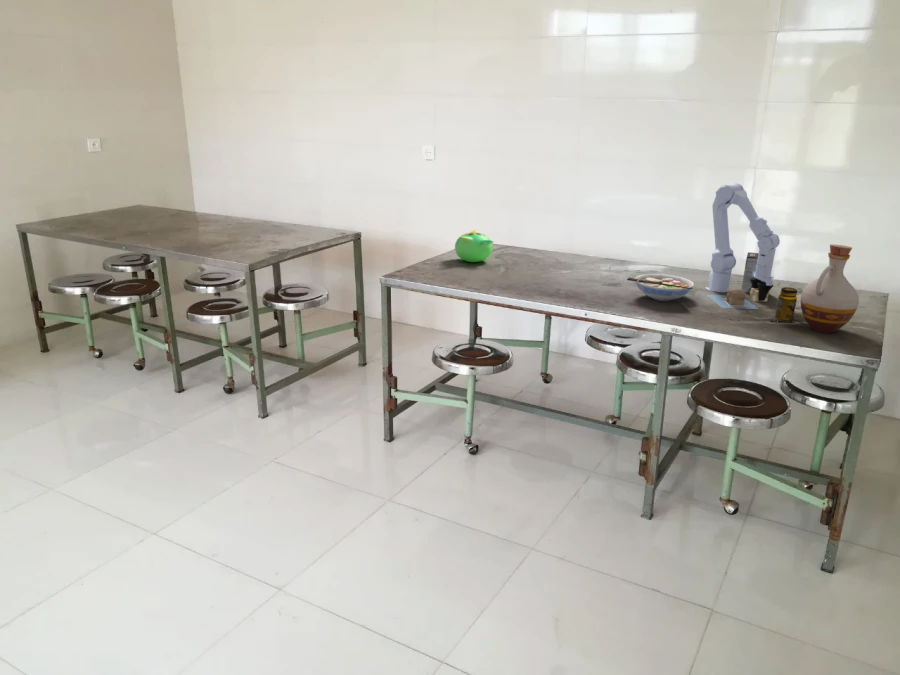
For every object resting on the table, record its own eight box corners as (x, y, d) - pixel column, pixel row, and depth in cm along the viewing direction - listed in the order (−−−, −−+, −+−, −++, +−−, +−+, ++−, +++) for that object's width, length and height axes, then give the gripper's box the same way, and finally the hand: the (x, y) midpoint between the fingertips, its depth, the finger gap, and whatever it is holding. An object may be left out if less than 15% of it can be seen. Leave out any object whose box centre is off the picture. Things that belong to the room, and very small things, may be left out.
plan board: (705, 297, 274) (706, 294, 274) (740, 298, 274) (740, 295, 274) (721, 310, 257) (722, 307, 257) (758, 311, 257) (759, 308, 257)
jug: (833, 342, 226) (853, 254, 216) (782, 327, 240) (799, 244, 229) (861, 331, 237) (881, 247, 227) (810, 318, 251) (827, 238, 240)
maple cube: (749, 299, 272) (751, 288, 270) (761, 300, 272) (763, 288, 270) (754, 303, 267) (756, 291, 265) (766, 303, 267) (769, 291, 265)
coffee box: (741, 288, 288) (747, 251, 282) (757, 290, 285) (764, 253, 280) (740, 294, 280) (746, 256, 274) (756, 296, 277) (763, 257, 272)
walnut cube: (725, 301, 265) (727, 289, 263) (738, 302, 265) (740, 289, 263) (730, 305, 260) (732, 293, 259) (743, 305, 260) (745, 293, 259)
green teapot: (489, 257, 333) (491, 228, 328) (494, 266, 317) (495, 235, 312) (453, 257, 332) (454, 227, 327) (455, 265, 316) (456, 234, 311)
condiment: (796, 324, 244) (802, 292, 240) (771, 322, 245) (777, 290, 241) (789, 317, 251) (795, 286, 247) (765, 316, 252) (771, 285, 248)
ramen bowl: (699, 297, 274) (702, 277, 272) (687, 311, 256) (690, 290, 253) (638, 287, 286) (641, 268, 283) (622, 300, 268) (624, 280, 265)
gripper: (783, 269, 257) (776, 304, 262) (767, 261, 271) (761, 293, 276) (764, 269, 258) (758, 303, 262) (749, 260, 271) (743, 293, 276)
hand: (758, 298), depth 269 cm, fingers closed on maple cube, 5 cm apart
